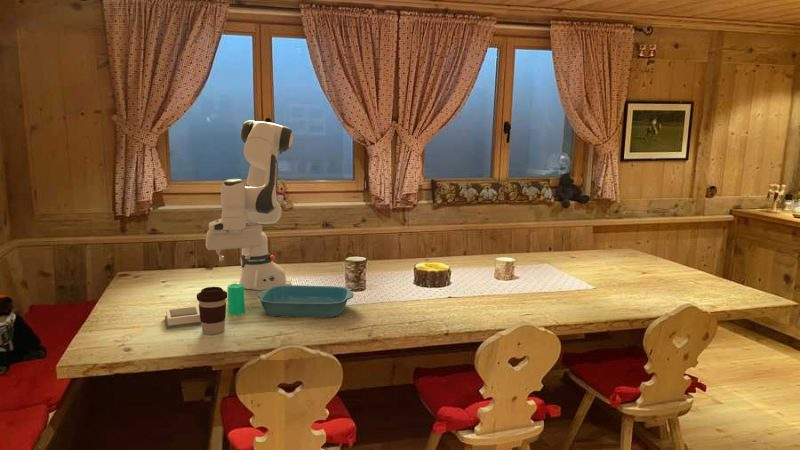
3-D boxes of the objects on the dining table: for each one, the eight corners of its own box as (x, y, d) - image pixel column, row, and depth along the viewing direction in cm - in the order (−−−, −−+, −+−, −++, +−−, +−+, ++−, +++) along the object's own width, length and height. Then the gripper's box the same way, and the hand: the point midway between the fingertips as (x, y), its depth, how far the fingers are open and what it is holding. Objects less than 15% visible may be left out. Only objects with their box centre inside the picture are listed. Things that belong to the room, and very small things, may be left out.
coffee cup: (202, 326, 199) (200, 285, 196) (231, 326, 200) (229, 285, 197) (194, 336, 189) (192, 293, 187) (225, 336, 190) (223, 293, 188)
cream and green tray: (208, 313, 212) (207, 304, 212) (212, 322, 202) (211, 313, 202) (165, 318, 206) (164, 309, 205) (167, 328, 196) (166, 318, 195)
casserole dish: (250, 318, 208) (249, 300, 207) (266, 300, 230) (265, 283, 229) (350, 322, 207) (350, 303, 206) (356, 303, 229) (356, 286, 228)
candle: (240, 315, 211) (239, 284, 209) (225, 314, 212) (224, 283, 210) (247, 310, 217) (246, 280, 215) (233, 309, 218) (232, 279, 216)
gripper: (260, 220, 216) (261, 256, 218) (204, 223, 207) (205, 260, 209) (264, 223, 210) (264, 259, 212) (206, 226, 201) (207, 264, 203)
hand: (234, 260), depth 211 cm, fingers open, 8 cm apart
